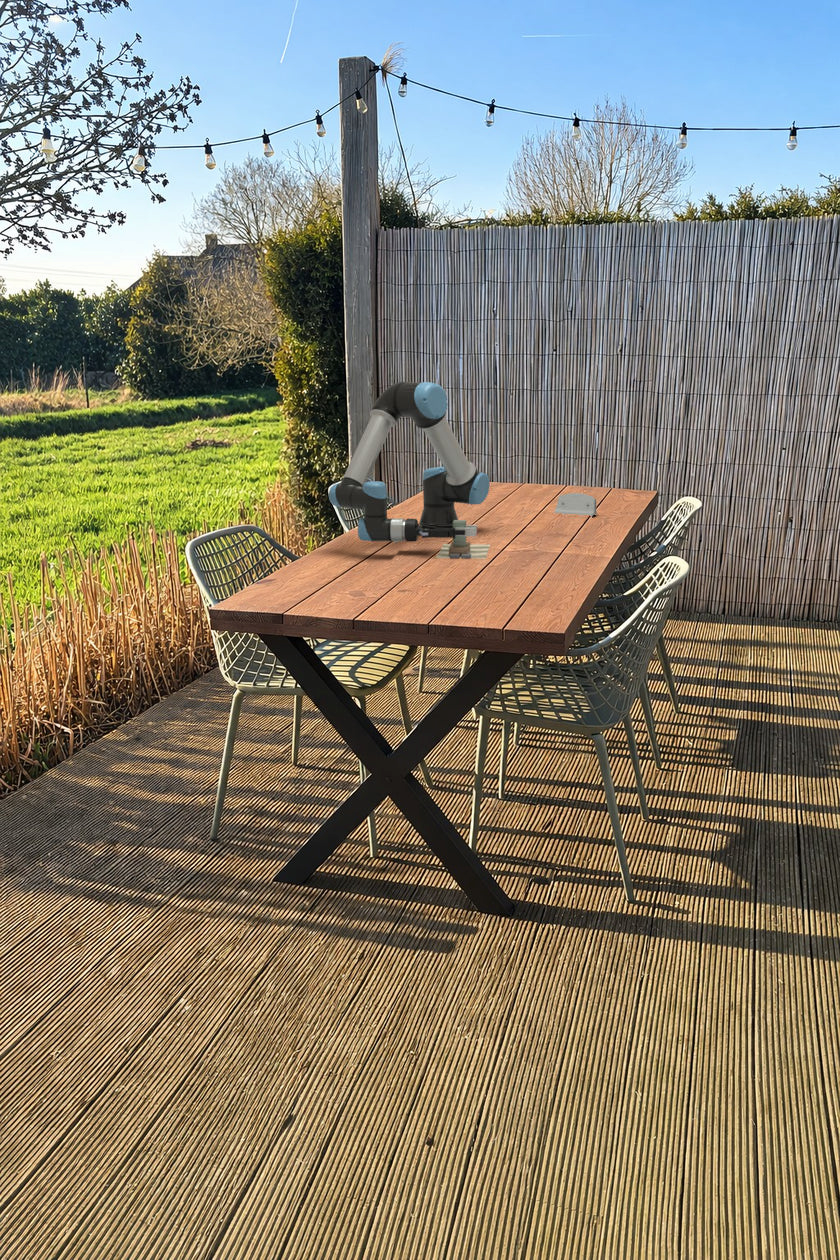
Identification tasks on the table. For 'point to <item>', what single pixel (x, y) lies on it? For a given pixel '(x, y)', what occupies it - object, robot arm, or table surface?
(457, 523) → the block
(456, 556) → the mark tile
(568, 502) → the hinge
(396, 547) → the table surface
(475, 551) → the board
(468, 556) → the mark tile
